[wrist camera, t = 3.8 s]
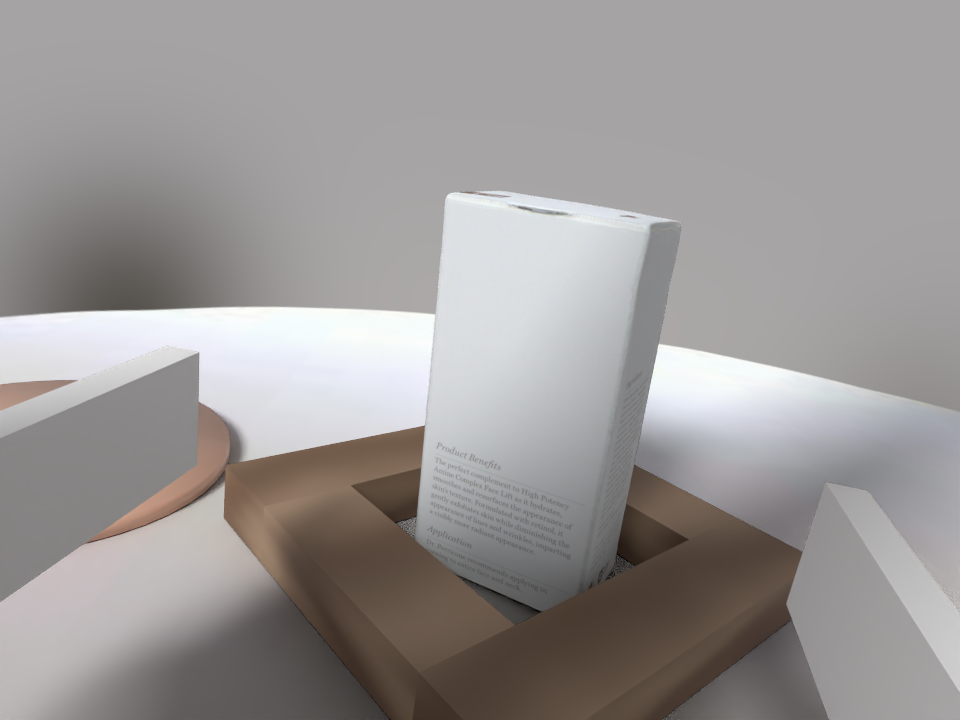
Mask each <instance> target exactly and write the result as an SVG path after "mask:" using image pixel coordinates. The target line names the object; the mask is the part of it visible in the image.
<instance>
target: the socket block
mask: <svg viewBox="0 0 960 720" xmlns="http://www.w3.org/2000/svg"><path fill="white" fill-rule="evenodd" d="M424 432H425V426H421V427H416V428H411V429H406V430H401V431H396V432H391V433H386V434H381V435H376V436H371V437H366V438H361V439H356V440H350V441H345V442H340V443H335V444H330V445H325V446H320V447H315V448H310V449H305V450H300V451H295V452H290V453H285V454H280V455H275V456H270V457H265V458H260V459H255V460H250V461H245V462H240V463H234V464H229V465H226V468H225V500H224V518H225V520H226V521H227V522H228V523H229V525H230V526H231V527H232V528H233V529H234V531H235V532H236V533H237V534H238V535H239V537H240V538H241V539H242V540H243V542H244V543H245V544H246V545H247V546H248V548H249V549H250V550H251V551H252V552H253V554H254V555H255V556H256V557H257V559H258V560H259V561H260V562H261V563H262V565H263V566H264V567H265V568H266V569H267V571H268V572H269V573H270V574H271V576H272V577H273V578H274V579H275V580H276V582H277V583H278V584H279V585H280V586H281V588H282V589H283V590H284V591H285V592H286V594H287V595H288V596H289V597H290V599H291V600H292V601H293V602H294V603H295V605H296V606H297V607H298V608H299V609H300V611H301V612H302V613H303V614H304V616H305V617H306V618H307V619H308V620H309V622H310V623H311V624H312V625H313V626H314V628H315V629H316V630H317V631H318V633H319V634H320V635H321V636H322V637H323V639H324V640H325V641H326V642H327V643H328V645H329V646H330V647H331V648H332V650H333V651H334V652H335V653H336V654H337V656H338V657H339V658H340V659H341V660H342V662H343V663H344V664H345V665H346V667H347V668H348V669H349V670H350V671H351V673H352V674H353V675H354V676H355V677H356V679H357V680H358V681H359V682H360V684H361V685H362V686H363V687H364V688H365V690H366V691H367V692H368V693H369V694H370V696H371V697H372V698H373V699H374V701H375V702H376V703H377V704H378V705H379V707H380V708H381V709H382V710H383V711H384V713H385V714H386V715H387V716H388V718H389V719H390V720H662V719H663V718H664V717H666V716H667V715H668V714H669V713H671V712H672V711H673V710H675V709H676V708H677V707H679V706H680V705H681V704H682V703H684V702H685V701H686V700H688V699H689V698H690V697H691V696H693V695H694V694H695V693H697V692H698V691H699V690H701V689H702V688H703V687H704V686H706V685H707V684H708V683H710V682H711V681H712V680H714V679H715V678H716V677H717V676H719V675H720V674H721V673H723V672H724V671H725V670H727V669H728V668H729V667H730V666H732V665H733V664H734V663H736V662H737V661H738V660H740V659H741V658H742V657H743V656H745V655H746V654H747V653H749V652H750V651H751V650H752V649H754V648H755V647H756V646H758V645H759V644H760V643H762V642H763V641H764V640H765V639H767V638H768V637H769V636H771V635H772V634H773V633H775V632H776V631H777V630H778V629H780V628H781V627H782V626H784V625H785V624H786V623H788V622H789V621H790V620H791V619H792V618H791V615H790V613H789V610H788V607H787V605H786V603H787V600H788V596H789V593H790V590H791V587H792V584H793V581H794V578H795V575H796V572H797V568H798V565H799V562H800V559H801V556H802V553H803V552H801V551H799V550H797V549H796V548H794V547H792V546H790V545H788V544H786V543H784V542H782V541H780V540H778V539H776V538H774V537H772V536H770V535H769V534H767V533H765V532H763V531H761V530H759V529H757V528H755V527H753V526H751V525H749V524H747V523H745V522H744V521H742V520H740V519H738V518H736V517H734V516H732V515H730V514H728V513H726V512H724V511H722V510H720V509H718V508H717V507H715V506H713V505H711V504H709V503H707V502H705V501H703V500H701V499H699V498H697V497H695V496H693V495H692V494H690V493H688V492H686V491H684V490H682V489H680V488H678V487H676V486H674V485H672V484H670V483H668V482H666V481H665V480H663V479H661V478H659V477H657V476H655V475H653V474H651V473H649V472H647V471H645V470H643V469H641V468H640V467H638V466H636V465H634V468H633V472H632V477H631V482H630V487H629V492H628V496H627V502H626V507H625V511H624V516H623V521H622V526H621V531H620V536H619V541H618V547H617V554H619V555H620V556H622V557H623V558H625V559H626V560H628V561H630V562H631V563H633V564H634V565H636V566H635V567H633V568H631V569H629V570H627V571H625V572H622V573H620V574H618V575H616V576H614V577H612V578H610V579H608V580H606V581H604V582H602V583H600V584H598V585H596V586H594V587H592V588H590V589H588V590H586V591H584V592H582V593H580V594H578V595H576V596H574V597H572V598H570V599H568V600H565V601H563V602H561V603H559V604H557V605H555V606H553V607H551V608H549V609H547V610H545V611H543V612H541V613H539V614H537V615H535V616H533V617H531V618H529V619H527V620H525V621H523V622H521V623H519V624H517V625H514V624H513V623H512V622H511V621H510V620H509V619H507V618H506V617H505V616H504V615H503V614H501V613H500V612H499V611H498V610H497V609H496V608H494V607H493V606H492V605H491V604H490V603H488V602H487V601H486V600H485V599H484V598H483V597H481V596H480V595H479V594H478V593H477V592H476V591H474V590H473V589H472V588H471V587H470V586H468V585H467V584H466V583H465V582H464V581H463V580H461V579H460V578H459V577H458V576H457V575H455V574H454V573H453V572H452V571H451V570H450V569H448V568H447V567H446V566H445V565H444V564H443V563H441V562H440V561H439V560H438V559H437V558H435V557H434V556H433V555H432V554H431V553H430V552H428V551H427V550H426V549H425V548H424V547H423V546H421V545H420V544H419V543H418V542H417V541H415V540H414V539H413V538H412V537H411V536H410V535H408V534H407V533H406V532H405V531H404V530H402V529H401V528H400V527H399V526H398V525H397V524H395V522H398V521H402V520H405V519H408V518H412V517H415V516H417V508H418V497H419V488H420V478H421V466H422V454H423V443H424Z"/></svg>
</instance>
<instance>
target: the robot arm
mask: <svg viewBox="0 0 960 720" xmlns="http://www.w3.org/2000/svg"><path fill="white" fill-rule="evenodd" d="M198 396H199V352H196V351H191V350H187V349H182V348H177V347H172V346H166V347H163V348H161V349H158V350H155V351H153V352H150V353H148V354H145V355H143V356H140V357H137V358H135V359H132V360H130V361H127V362H125V363H122V364H119V365H117V366H114V367H112V368H109V369H106V370H104V371H101V372H99V373H96V374H94V375H91V376H88V377H86V378H83V379H81V380H78V381H76V382H73V383H70V384H68V385H65V386H63V387H60V388H58V389H55V390H52V391H50V392H47V393H45V394H42V395H40V396H37V397H34V398H32V399H29V400H27V401H24V402H22V403H19V404H16V405H14V406H11V407H9V408H6V409H4V410H1V411H0V602H1V601H2V600H4V599H5V598H7V597H8V596H10V595H11V594H13V593H14V592H15V591H17V590H18V589H20V588H21V587H23V586H24V585H25V584H27V583H28V582H30V581H31V580H33V579H34V578H36V577H37V576H38V575H40V574H41V573H43V572H44V571H46V570H47V569H49V568H50V567H51V566H53V565H54V564H56V563H57V562H59V561H60V560H61V559H63V558H64V557H66V556H67V555H69V554H70V553H72V552H73V551H74V550H76V549H77V548H79V547H80V546H82V545H83V544H85V543H86V542H87V541H89V540H90V539H92V538H93V537H95V536H96V535H97V534H99V533H100V532H102V531H103V530H105V529H106V528H108V527H109V526H110V525H112V524H113V523H115V522H116V521H118V520H119V519H120V518H122V517H123V516H125V515H126V514H128V513H129V512H131V511H132V510H133V509H135V508H136V507H138V506H139V505H141V504H142V503H144V502H145V501H146V500H148V499H149V498H151V497H152V496H154V495H155V494H156V493H158V492H159V491H161V490H162V489H164V488H165V487H167V486H168V485H169V484H171V483H172V482H174V481H175V480H177V479H178V478H180V477H181V476H182V475H184V474H185V473H187V472H188V471H190V470H191V469H192V468H194V467H195V466H197V452H198ZM786 605H787V607H788V610H789V613H790V615H791V618H792V621H793V624H794V626H795V629H796V632H797V634H798V637H799V640H800V643H801V645H802V648H803V651H804V653H805V656H806V659H807V661H808V664H809V667H810V670H811V672H812V675H813V678H814V680H815V683H816V686H817V689H818V691H819V694H820V697H821V699H822V702H823V705H824V707H825V710H826V713H827V716H828V718H829V720H960V612H959V611H958V610H957V608H956V607H955V606H954V604H953V603H952V602H951V600H950V599H949V598H948V596H947V595H946V594H945V592H944V591H943V590H942V588H941V587H940V586H939V584H938V583H937V582H936V580H935V579H934V578H933V576H932V575H931V574H930V572H929V571H928V570H927V569H926V567H925V566H924V565H923V563H922V562H921V561H920V559H919V558H918V557H917V555H916V554H915V553H914V551H913V550H912V549H911V547H910V546H909V545H908V543H907V542H906V541H905V539H904V538H903V537H902V535H901V534H900V533H899V531H898V530H897V529H896V527H895V526H894V525H893V523H892V522H891V521H890V519H889V518H888V517H887V515H886V514H885V513H884V511H883V510H882V509H881V507H880V506H879V505H878V503H877V502H876V501H875V499H874V498H873V497H872V495H871V494H870V493H869V491H867V490H862V489H857V488H852V487H848V486H843V485H838V484H833V483H828V482H825V485H824V488H823V491H822V494H821V497H820V500H819V503H818V506H817V510H816V513H815V516H814V519H813V522H812V525H811V528H810V531H809V534H808V537H807V541H806V544H805V547H804V550H803V553H802V556H801V559H800V562H799V565H798V568H797V572H796V575H795V578H794V581H793V584H792V587H791V590H790V593H789V596H788V600H787V603H786Z"/></svg>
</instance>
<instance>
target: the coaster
mask: <svg viewBox="0 0 960 720" xmlns="http://www.w3.org/2000/svg"><path fill="white" fill-rule="evenodd" d="M76 381H78V380H54V381H33V382H20V383H10V384H1V385H0V411H1V410H4V409H6V408H9V407H11V406H14V405H16V404H19V403H22V402H24V401H27V400H29V399H32V398H34V397H37V396H40V395H42V394H45V393H47V392H50V391H52V390H55V389H58V388H60V387H63V386H65V385H68V384H70V383H73V382H76ZM229 455H230V435H229V430H228V428H227V426H226V424H225V422H224V421H223V420H222V419H221V417H220V416H219V415H218V414H216V413H215V412H214V411H213V410H211V409H210V408H208V407H207V406H205V405H203V404H201V403H200V402H198V452H197V466H195V467H194V468H192V469H191V470H190V471H188V472H187V473H185V474H184V475H182V476H181V477H180V478H178V479H177V480H175V481H174V482H172V483H171V484H169V485H168V486H167V487H165V488H164V489H162V490H161V491H159V492H158V493H156V494H155V495H154V496H152V497H151V498H149V499H148V500H146V501H145V502H144V503H142V504H141V505H139V506H138V507H136V508H135V509H133V510H132V511H131V512H129V513H128V514H126V515H125V516H123V517H122V518H120V519H119V520H118V521H116V522H115V523H113V524H112V525H110V526H109V527H108V528H106V529H105V530H103V531H102V532H100V533H99V534H97V535H96V536H95V537H93V538H92V539H90V540H89V541H87V542H91V541H95V540H99V539H102V538H106V537H110V536H113V535H117V534H120V533H123V532H126V531H129V530H132V529H135V528H137V527H140V526H143V525H146V524H148V523H150V522H153V521H155V520H157V519H160V518H162V517H164V516H167V515H169V514H171V513H173V512H174V511H176V510H178V509H180V508H182V507H184V506H186V505H187V504H189V503H190V502H192V501H193V500H195V499H196V498H198V497H199V496H201V495H202V494H203V493H204V492H206V491H207V490H208V489H209V488H210V487H211V486H212V485H213V484H215V482H216V481H217V480H218V479H219V477H220V476H221V475H222V474H223V472H224V470H225V468H226V465H227V464H228V460H229ZM87 542H86V543H87Z"/></svg>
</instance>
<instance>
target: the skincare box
mask: <svg viewBox="0 0 960 720" xmlns="http://www.w3.org/2000/svg"><path fill="white" fill-rule="evenodd" d="M680 233H681V224H680V222H678V221H674V220H669V219H664V218H659V217H654V216H649V215H644V214H639V213H633V212H629V211H623V210H617V209H612V208H606V207H600V206H595V205H589V204H582V203H575V202H570V201H563V200H557V199H550V198H544V197H538V196H531V195H524V194H518V193H512V192H505V191H486V192H456V193H450V194H449V195H448V196H447V197H446V201H445V212H444V225H443V239H442V250H441V260H440V271H439V282H438V294H437V305H436V315H435V326H434V337H433V348H432V358H431V369H430V380H429V391H428V400H427V410H426V420H425V432H424V443H423V454H422V466H421V478H420V488H419V497H418V508H417V519H416V528H415V538H414V540H415V541H417V542H418V543H419V544H420V545H421V546H423V547H424V548H425V549H426V550H427V551H428V552H430V553H431V554H432V555H433V556H434V557H435V558H437V559H438V560H439V561H440V562H441V563H443V564H444V565H445V566H446V567H447V568H448V569H450V570H451V571H452V572H453V573H454V574H456V575H459V576H461V577H463V578H466V579H468V580H470V581H473V582H475V583H477V584H480V585H482V586H484V587H486V588H489V589H491V590H493V591H496V592H498V593H500V594H503V595H505V596H507V597H509V598H512V599H514V600H516V601H519V602H521V603H523V604H526V605H528V606H530V607H532V608H535V609H537V610H539V611H542V612H543V611H545V610H547V609H549V608H551V607H553V606H555V605H557V604H559V603H561V602H563V601H565V600H568V599H570V598H572V597H574V596H576V595H578V594H580V593H582V592H584V591H586V590H588V589H590V588H592V587H594V586H596V585H598V584H600V583H602V582H604V581H605V580H606V578H607V576H608V575H609V573H610V572H611V570H612V568H613V566H614V564H615V559H616V553H617V547H618V541H619V536H620V531H621V526H622V521H623V516H624V511H625V507H626V502H627V496H628V492H629V487H630V482H631V477H632V472H633V468H634V463H635V458H636V453H637V448H638V443H639V438H640V434H641V428H642V423H643V418H644V413H645V408H646V403H647V398H648V393H649V388H650V383H651V378H652V373H653V369H654V364H655V359H656V354H657V348H658V344H659V339H660V334H661V329H662V324H663V319H664V314H665V309H666V304H667V297H668V291H669V285H670V281H671V277H672V273H673V269H674V264H675V260H676V255H677V250H678V245H679V240H680Z"/></svg>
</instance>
